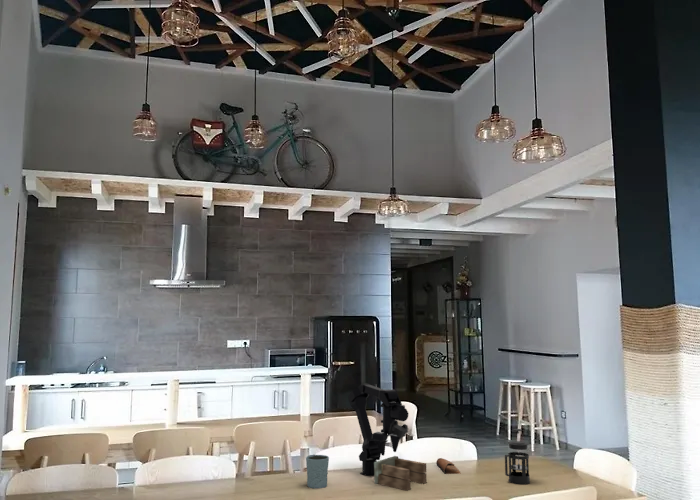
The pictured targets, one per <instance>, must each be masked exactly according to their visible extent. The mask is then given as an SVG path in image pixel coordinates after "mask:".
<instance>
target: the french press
mask: <svg viewBox="0 0 700 500" xmlns="http://www.w3.org/2000/svg"><path fill="white" fill-rule="evenodd" d="M512 431H515V432H516V435H517V437H516V438H517V440H512V441H507V445H508V448H509V449H512V450H517V451H512V452H511V451H510V452H508V453H507V454H505V455H504V471H505V472H504V474H505V476H506V477H508V482H509V483H510V484H513V485H523V486H524V485H530V484H531V481H530V469H529V454H528V452H527V453H525V452H522V451H525V450H527V449H528V445H529V443H528V442H526V441H519V434H520V432H523V429H520V428H513V429H512ZM519 450H520V451H521V452H520V451H519ZM520 460H521V464H520ZM517 461H518V462H517ZM516 463H517V464H516Z"/></svg>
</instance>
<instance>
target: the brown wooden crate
mask: <svg viewBox="0 0 700 500" xmlns="http://www.w3.org/2000/svg"><path fill="white" fill-rule="evenodd" d="M382 464H387V465H392V466H396V467H401V468H405V469H409V479H407V480H405V479H400V478H396V477H392V476H388V475H384V474H382ZM373 478H374V479H373V480H374V481H373V483H374V484H375V485H382V486H387V487H390V488H394V489H399V490H403V491H404V490H405V491H409V490H411V489H412V488H411V482H413V483H417V484H421V483H423V484H422V485H424V483H425V484H427V481H428V480H427V463H426V462H420V461H416V460H415V461H414V460H409V459H404V458H399V456H397V455H393V456H389V457H387V458H383V459H380V460H376V462H374V475H373Z"/></svg>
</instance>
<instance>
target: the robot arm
mask: <svg viewBox="0 0 700 500" xmlns="http://www.w3.org/2000/svg"><path fill="white" fill-rule="evenodd" d="M369 396H372V397H376V398H377V399H378V401H380V402H381V404H380V405H379V407H380V408H382V420H381V419H380V423H381V424H382V429H380V431H376V432H373V431H372V427H371V423H370V420H369V416H368V411H367V410H366V409H367V408H366V407H367V404H368V403H367V402H368V401H367V400H368V399H367V398H369ZM348 401H349V404H350V407H351V408H352V409H353V411H355V414H356V418H357V421H358V424H359V428H360V429H359V430H360V432H361V436H362V439H363V441H362V445H361V450H362V451H361V453H359V455H358V459H359V461H360V462H361V464H362V465H361V466H362V467H361V468H362V469H361V470H362V472H360V473H359V474H360V475H364V476H368V477H372V476H373V477H374V462H376V461H380V460H381V456H385V452H386V451H385V450H386V444H387V443H388V441H389V440H388V438H389V437H390V441H391V442H390V443H391V447H392V450H393V452H394V453H396V452H397V450H398V447H399V443H400V441H401V439H403V438H404V437H406V434H407V433H408V432H409V431H408V430H409V429H408V425H407V424H405V423H404V424H402V425H401V424H399V423H398V421H400V422H406V421H407V420H408V418H409V411H408V409H407V408H406V406H405V405H404V404H402V400H401V399H400V397H399V394H398V392H397V390H395V389H384V388H380V387H378V386H375V385H371V384H370V383H362V384H360V385H359V386H358V387H356V388H355V389H353V390H352V391H350V393H349V394H348Z"/></svg>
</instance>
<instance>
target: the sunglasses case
mask: <svg viewBox="0 0 700 500" xmlns="http://www.w3.org/2000/svg"><path fill="white" fill-rule="evenodd" d="M436 465H437V466H438V467H439V468H440V469H441V470H442V471H443V473H444V474H446V475H455V474H457V475H458V474H459V475H460V474H461V471H460V470H459V469H458V468H457V467H456V465H455V464H454V463H453V462H451V461H449V460H447V459H445V458H442V457H441V458H437V460H436Z"/></svg>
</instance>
